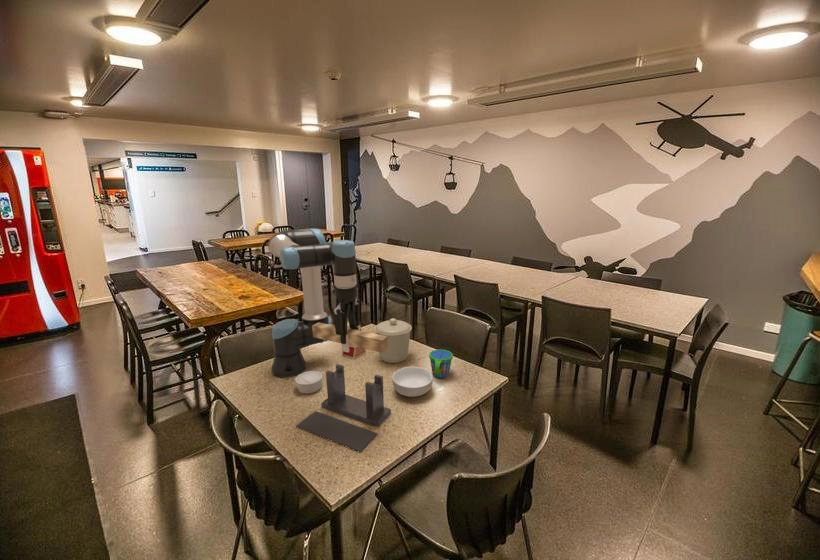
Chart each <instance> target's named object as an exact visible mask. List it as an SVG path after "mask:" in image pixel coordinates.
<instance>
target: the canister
mask: <svg viewBox="0 0 820 560" xmlns="http://www.w3.org/2000/svg"><path fill="white" fill-rule="evenodd" d="M412 329H413V327H412V325H411V324H410V323H408V322H406V321H404V320H398V319H396V318H394V317H393V318H390V319H388V320H385V321H382V322H380V323H378V324H376V325H375V326H374V332H375V334H378V335H383V336H388V349H387V350H385V351H384V352H383V353H381V352H378V353H379V357H380V359H381V360H382V361H383V362H385V363H388V364H399V363H401V362H404V361H405V360H406V359H407V358H408V354H409V348H410V347H409V346H410V338H411V337H410V336H411V331H412Z"/></svg>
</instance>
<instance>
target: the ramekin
mask: <svg viewBox="0 0 820 560" xmlns="http://www.w3.org/2000/svg"><path fill="white" fill-rule="evenodd" d="M294 382H295V384H296V387H297V390H298V392H299V393H300V394H304V393H305V394H304V395H309V393H310V394H313V393H317V392H318V391H319V390H320V389H321V388H322V383H323V374H322V373H321V372H320V371H316V370H309V371H303V372H302V373H300V374H298V375H296V377H295V378H294Z"/></svg>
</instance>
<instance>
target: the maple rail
mask: <svg viewBox="0 0 820 560" xmlns="http://www.w3.org/2000/svg"><path fill="white" fill-rule="evenodd" d="M312 330H313V337H315V338H319V339H324V340H328V341H327V342H334V343H337V344H341V338H340V335H336V331H335V324H334V325H333V324H332V325H329V324H324V323H317V324H315V325H313V326H312ZM347 334H348V336H349V345H350V346H355V347H359V348H363V349H366V350H369V351H374V352H378V353H379V352H381V353H383V352H384V351H385V350H387V349H388V336H383V335H378V334H376V333H373V332H367V331H363V330H361V331H358V330H353V329H348V328H347Z"/></svg>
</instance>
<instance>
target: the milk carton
mask: <svg viewBox="0 0 820 560" xmlns="http://www.w3.org/2000/svg"><path fill="white" fill-rule="evenodd" d="M357 327H359V329H358V331H362V327H361V324H360V325H359V326H357ZM347 328H348V329H351V328H350V327H349V321H347ZM364 354H367V349H363V348H359V347H356V348H354V347H350V346H349V352H344V351H342V357H346V358H350V359H353V360H355V359H357V358H359V357H361V356H362V355H364Z"/></svg>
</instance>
